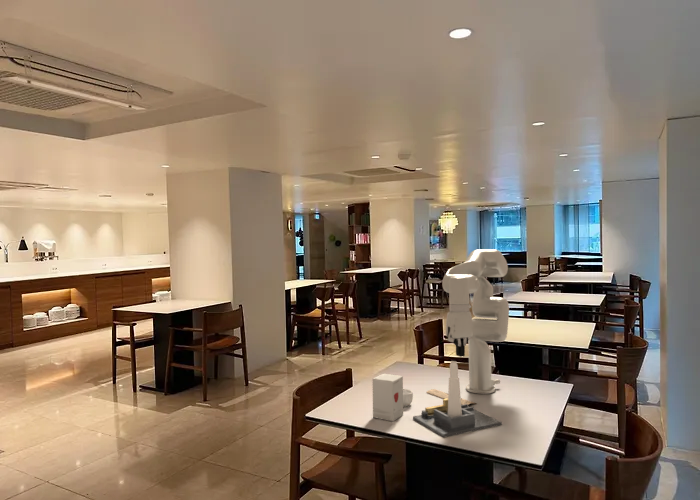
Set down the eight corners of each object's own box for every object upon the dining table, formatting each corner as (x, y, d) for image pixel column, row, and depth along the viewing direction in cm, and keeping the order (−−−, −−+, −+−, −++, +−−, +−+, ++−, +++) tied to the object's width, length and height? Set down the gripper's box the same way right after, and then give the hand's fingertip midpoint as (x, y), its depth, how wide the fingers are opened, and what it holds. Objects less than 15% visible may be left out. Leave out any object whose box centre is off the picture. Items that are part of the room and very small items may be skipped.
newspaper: (426, 394, 214) (426, 390, 214) (438, 391, 218) (438, 387, 218) (466, 409, 195) (466, 404, 195) (478, 405, 198) (478, 401, 198)
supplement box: (393, 421, 180) (392, 381, 180) (372, 417, 185) (371, 378, 185) (404, 414, 188) (403, 375, 188) (383, 410, 193) (382, 372, 192)
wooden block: (447, 411, 187) (447, 398, 187) (449, 412, 186) (449, 399, 186) (425, 415, 183) (425, 402, 183) (427, 416, 181) (427, 403, 181)
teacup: (416, 406, 197) (416, 393, 197) (399, 408, 194) (398, 395, 194) (405, 399, 206) (405, 386, 206) (388, 401, 204) (388, 388, 204)
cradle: (467, 408, 193) (467, 396, 193) (501, 424, 175) (501, 410, 175) (413, 419, 182) (412, 405, 182) (443, 437, 165) (443, 422, 165)
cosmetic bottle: (453, 427, 171) (451, 364, 171) (442, 421, 176) (441, 360, 176) (467, 424, 173) (465, 362, 173) (456, 418, 179) (455, 359, 179)
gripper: (468, 305, 195) (469, 351, 195) (437, 308, 189) (438, 356, 189) (481, 308, 188) (482, 355, 188) (449, 311, 182) (450, 360, 182)
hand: (460, 355), depth 189 cm, fingers closed
